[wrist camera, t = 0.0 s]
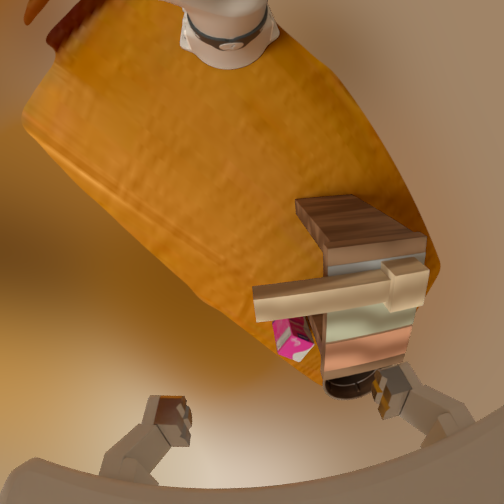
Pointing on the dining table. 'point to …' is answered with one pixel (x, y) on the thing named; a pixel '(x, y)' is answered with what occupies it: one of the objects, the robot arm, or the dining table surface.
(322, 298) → the marker stick
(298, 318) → the supplement box
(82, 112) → the dining table surface
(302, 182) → the dining table surface
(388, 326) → the shelf
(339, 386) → the plant pot
